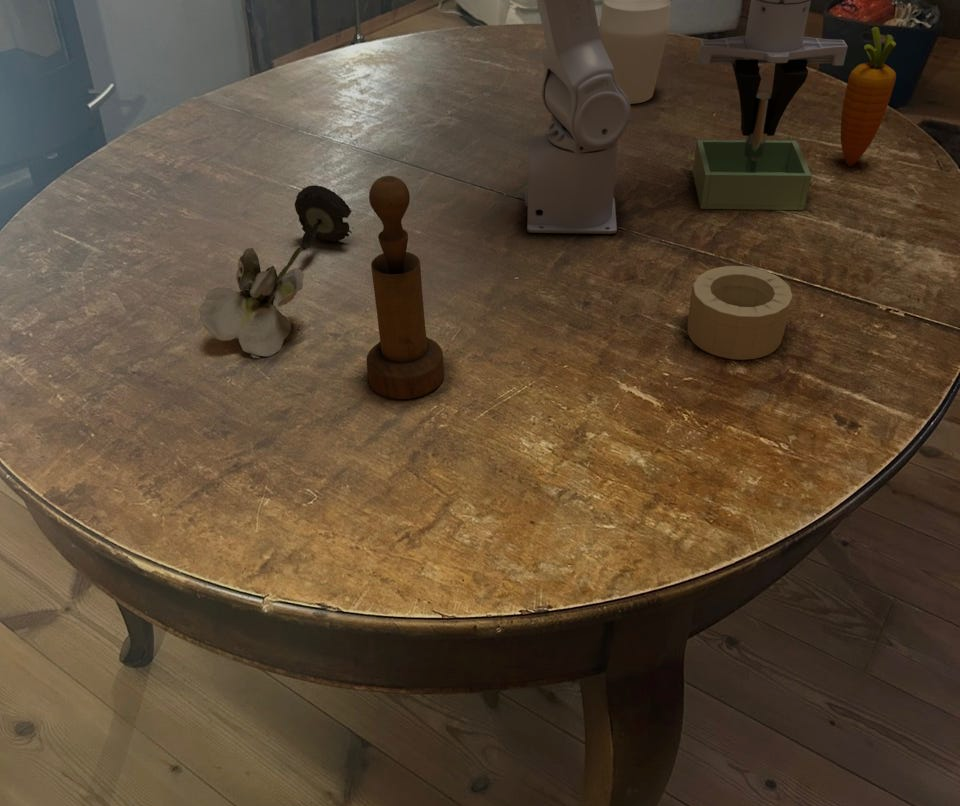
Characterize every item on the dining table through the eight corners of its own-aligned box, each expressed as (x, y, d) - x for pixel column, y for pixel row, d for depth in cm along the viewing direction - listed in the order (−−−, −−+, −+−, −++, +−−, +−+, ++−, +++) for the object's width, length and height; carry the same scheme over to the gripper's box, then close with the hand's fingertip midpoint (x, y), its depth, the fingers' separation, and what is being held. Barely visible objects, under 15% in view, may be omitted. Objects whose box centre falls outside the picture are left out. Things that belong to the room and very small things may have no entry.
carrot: (874, 176, 107) (911, 39, 97) (829, 173, 108) (862, 37, 98) (869, 158, 111) (905, 24, 101) (826, 155, 112) (857, 22, 101)
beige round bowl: (691, 358, 81) (698, 315, 78) (683, 307, 88) (689, 264, 85) (789, 361, 81) (799, 317, 78) (773, 309, 87) (783, 266, 84)
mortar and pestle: (405, 346, 84) (387, 153, 72) (459, 372, 81) (450, 175, 69) (353, 381, 80) (324, 183, 68) (408, 410, 77) (388, 208, 65)
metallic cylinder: (741, 180, 103) (756, 100, 97) (738, 169, 105) (752, 90, 99) (760, 180, 103) (775, 100, 97) (756, 170, 105) (771, 90, 99)
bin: (700, 209, 102) (705, 174, 99) (692, 172, 109) (697, 139, 106) (803, 210, 101) (811, 175, 99) (789, 173, 108) (796, 140, 105)
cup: (585, 88, 129) (590, -5, 121) (644, 80, 131) (653, -13, 123) (611, 111, 123) (618, 14, 115) (672, 102, 125) (684, 6, 117)
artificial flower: (372, 254, 99) (382, 177, 91) (267, 394, 85) (268, 318, 77) (297, 222, 99) (301, 142, 91) (181, 356, 86) (173, 276, 78)
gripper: (711, 8, 89) (692, 146, 98) (866, 8, 88) (832, 147, 97) (703, -13, 94) (686, 120, 103) (850, -14, 93) (819, 121, 102)
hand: (756, 132), depth 101 cm, fingers closed on metallic cylinder, 2 cm apart
